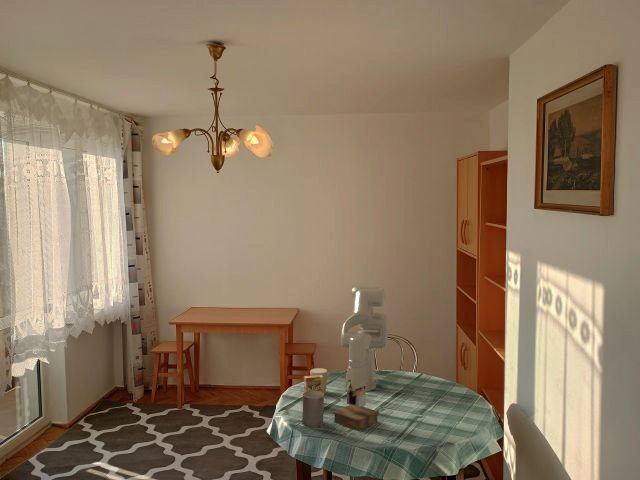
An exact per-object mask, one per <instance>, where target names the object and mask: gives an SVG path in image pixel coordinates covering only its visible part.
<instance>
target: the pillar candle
mask: <svg viewBox="0 0 640 480" xmlns="http://www.w3.org/2000/svg"><path fill="white" fill-rule="evenodd" d="M324 401H325V394H323V393H321V392H318V391H308V392H305V393H304V392H303V393H302V415H301V417H302V419H301V420H302V421H301V423H302V425H303V426H304V427H307V428H319V427H321V426H323V425H324V414H325V413H324V409H325V406H324V405H325V402H324Z"/></svg>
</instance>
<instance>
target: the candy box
mask: <svg viewBox="0 0 640 480" xmlns="http://www.w3.org/2000/svg"><path fill="white" fill-rule="evenodd" d="M308 391H318V392H321V393H323V376H322V375H311V376H310V375H303V393H305V392H308Z"/></svg>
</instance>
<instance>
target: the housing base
mask: <svg viewBox="0 0 640 480" xmlns="http://www.w3.org/2000/svg"><path fill="white" fill-rule="evenodd" d="M366 395H367V394H366V393H365V395H362V396H357V395H355V405H353V404H350V403H349V395H348V393H347V392H346V405H353V406H356V407H361V406H363V407H364V406H366V402H367V401H366V399H367V396H366Z"/></svg>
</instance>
